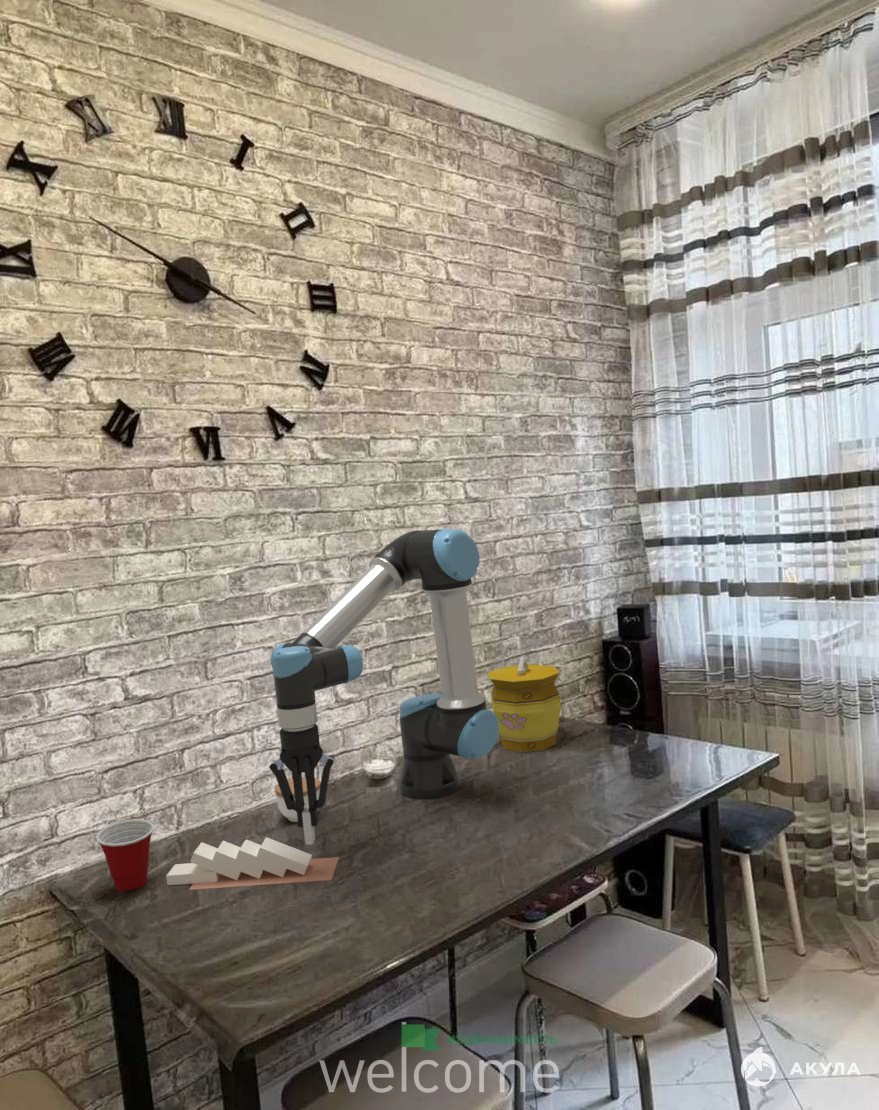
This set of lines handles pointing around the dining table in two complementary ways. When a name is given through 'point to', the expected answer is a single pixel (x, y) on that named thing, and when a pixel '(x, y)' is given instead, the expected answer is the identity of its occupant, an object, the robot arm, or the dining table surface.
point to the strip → (314, 872)
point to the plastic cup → (127, 852)
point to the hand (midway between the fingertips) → (310, 841)
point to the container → (526, 706)
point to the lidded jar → (281, 803)
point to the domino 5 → (284, 856)
